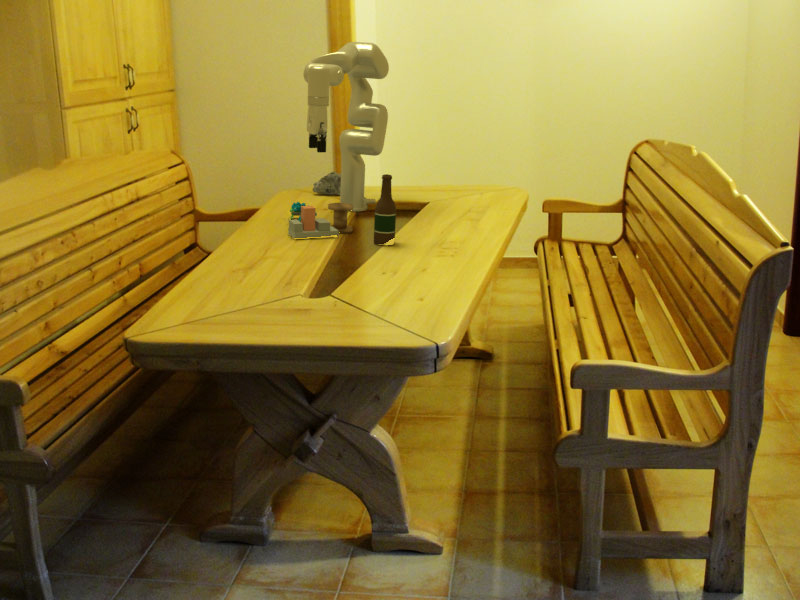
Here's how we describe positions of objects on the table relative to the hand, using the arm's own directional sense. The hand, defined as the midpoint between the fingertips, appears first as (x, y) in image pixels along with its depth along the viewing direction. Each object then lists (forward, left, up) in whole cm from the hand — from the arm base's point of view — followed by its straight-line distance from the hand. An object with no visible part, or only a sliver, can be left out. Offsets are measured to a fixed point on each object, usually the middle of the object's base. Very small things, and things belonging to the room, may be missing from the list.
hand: (317, 150), depth 350 cm
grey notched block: (+5, +13, -28) cm, 32 cm away
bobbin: (-7, +7, -28) cm, 30 cm away
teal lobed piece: (+1, -12, -29) cm, 31 cm away
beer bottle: (-16, +28, -28) cm, 43 cm away
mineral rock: (-24, -57, -29) cm, 68 cm away
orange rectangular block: (+7, +13, -26) cm, 30 cm away
